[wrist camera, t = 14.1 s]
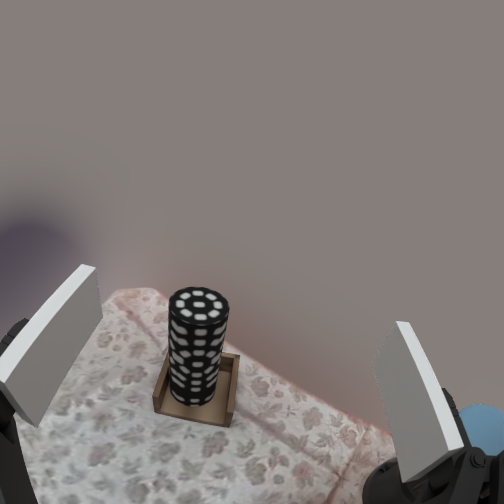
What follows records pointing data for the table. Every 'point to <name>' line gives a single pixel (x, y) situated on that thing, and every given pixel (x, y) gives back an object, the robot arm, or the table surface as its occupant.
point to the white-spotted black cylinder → (195, 343)
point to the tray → (210, 413)
